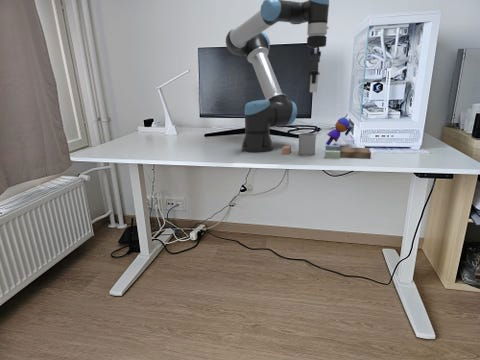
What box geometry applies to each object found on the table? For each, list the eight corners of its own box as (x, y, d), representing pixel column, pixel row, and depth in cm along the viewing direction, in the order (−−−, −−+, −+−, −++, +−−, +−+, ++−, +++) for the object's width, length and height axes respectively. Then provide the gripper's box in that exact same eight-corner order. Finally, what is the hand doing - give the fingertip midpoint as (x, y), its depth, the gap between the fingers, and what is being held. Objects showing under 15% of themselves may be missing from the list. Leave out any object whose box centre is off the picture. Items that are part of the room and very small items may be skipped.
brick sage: (324, 158, 131) (325, 151, 130) (324, 157, 134) (325, 150, 133) (339, 159, 129) (340, 152, 128) (339, 157, 132) (340, 150, 131)
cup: (296, 155, 137) (297, 135, 134) (301, 151, 146) (302, 131, 143) (313, 156, 134) (314, 135, 132) (317, 151, 143) (318, 132, 141)
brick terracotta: (288, 155, 139) (288, 148, 138) (282, 154, 140) (282, 148, 139) (291, 152, 145) (291, 145, 144) (284, 152, 145) (284, 145, 145)
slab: (339, 157, 131) (340, 151, 131) (339, 152, 141) (339, 147, 140) (370, 158, 128) (371, 152, 127) (368, 153, 137) (368, 147, 137)
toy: (336, 151, 150) (355, 124, 144) (322, 142, 150) (341, 115, 145) (334, 147, 160) (352, 121, 155) (321, 139, 160) (339, 113, 155)
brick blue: (325, 152, 142) (325, 146, 141) (325, 151, 145) (326, 144, 144) (339, 153, 140) (339, 146, 139) (339, 151, 143) (339, 145, 142)
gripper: (327, 31, 112) (322, 93, 119) (326, 39, 135) (322, 90, 142) (305, 32, 114) (302, 93, 120) (308, 39, 137) (305, 90, 143)
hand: (313, 91), depth 131 cm, fingers open, 13 cm apart
